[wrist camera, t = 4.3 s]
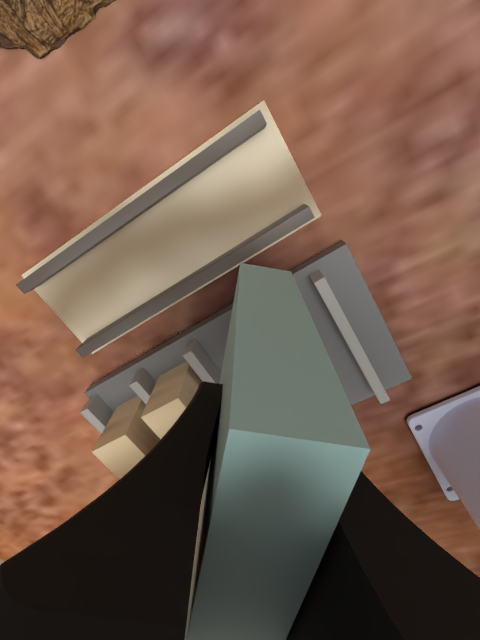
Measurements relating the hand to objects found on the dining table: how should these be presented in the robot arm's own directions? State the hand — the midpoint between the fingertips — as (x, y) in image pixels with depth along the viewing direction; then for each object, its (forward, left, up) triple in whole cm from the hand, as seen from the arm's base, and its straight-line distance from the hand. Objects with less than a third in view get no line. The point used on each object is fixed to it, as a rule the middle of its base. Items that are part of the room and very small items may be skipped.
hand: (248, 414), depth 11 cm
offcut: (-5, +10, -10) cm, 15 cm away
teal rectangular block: (0, 0, -4) cm, 4 cm away
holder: (+5, +2, -11) cm, 12 cm away
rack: (-5, +3, -11) cm, 12 cm away
